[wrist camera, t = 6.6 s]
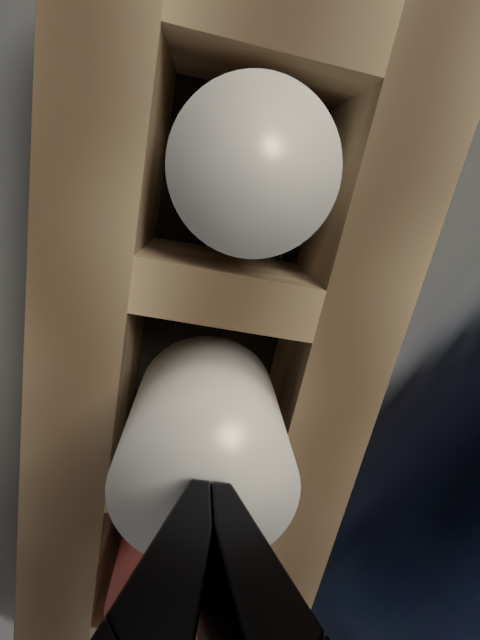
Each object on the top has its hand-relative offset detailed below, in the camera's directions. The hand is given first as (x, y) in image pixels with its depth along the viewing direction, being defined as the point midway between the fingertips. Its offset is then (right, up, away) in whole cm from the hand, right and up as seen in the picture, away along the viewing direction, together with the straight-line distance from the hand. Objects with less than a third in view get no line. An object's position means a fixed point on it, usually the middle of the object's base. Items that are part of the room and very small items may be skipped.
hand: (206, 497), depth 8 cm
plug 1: (+1, +8, +5) cm, 9 cm away
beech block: (-1, +2, +7) cm, 7 cm away
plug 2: (0, +1, +4) cm, 4 cm away
